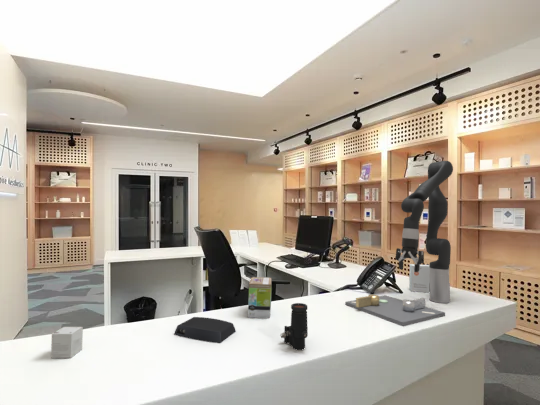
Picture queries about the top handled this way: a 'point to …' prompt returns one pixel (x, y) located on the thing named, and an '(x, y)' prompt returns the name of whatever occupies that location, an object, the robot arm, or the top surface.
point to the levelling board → (397, 311)
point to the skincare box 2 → (419, 279)
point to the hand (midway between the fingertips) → (408, 270)
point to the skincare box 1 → (66, 342)
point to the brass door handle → (367, 301)
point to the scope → (297, 327)
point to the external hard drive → (205, 329)
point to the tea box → (259, 297)
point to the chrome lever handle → (413, 304)
